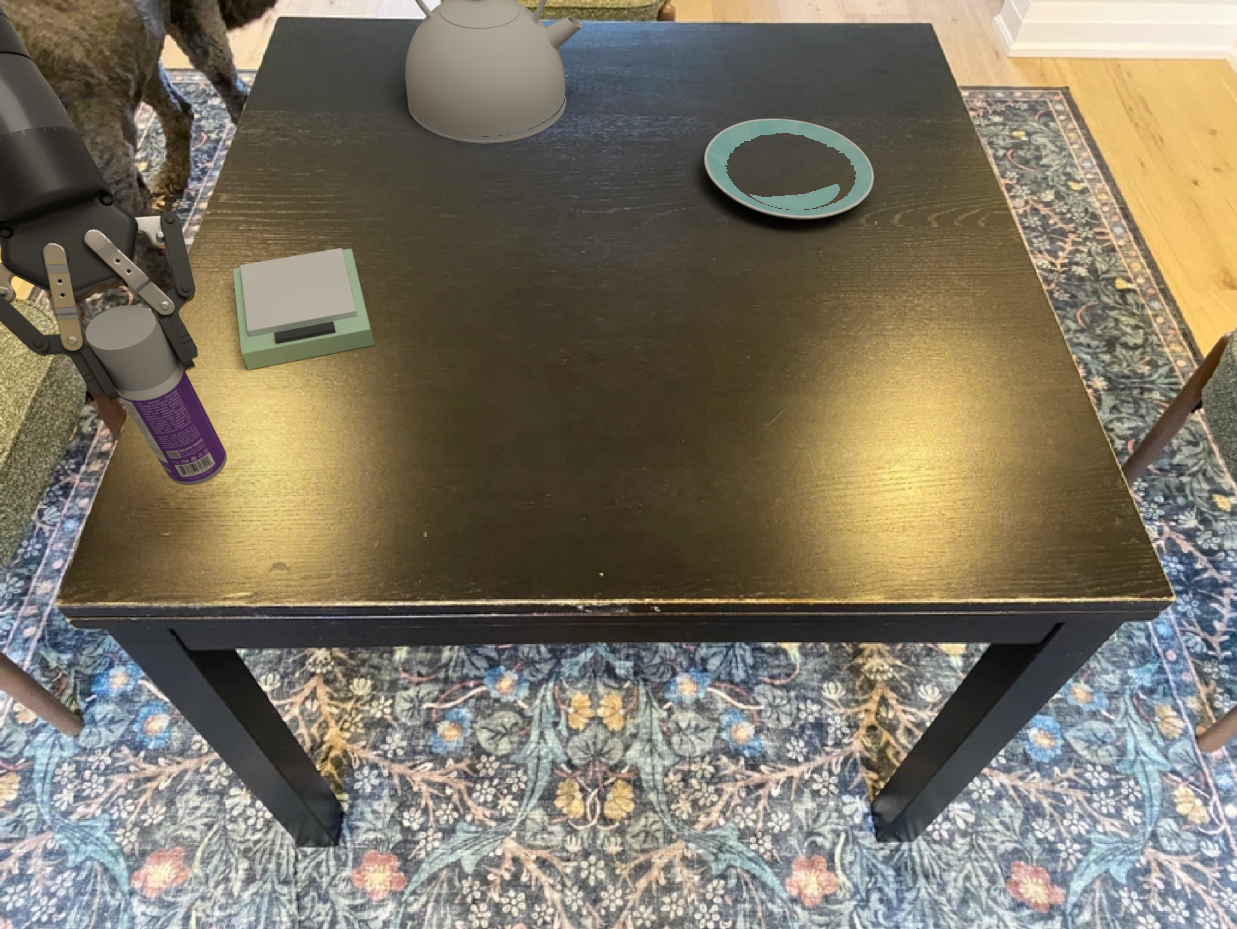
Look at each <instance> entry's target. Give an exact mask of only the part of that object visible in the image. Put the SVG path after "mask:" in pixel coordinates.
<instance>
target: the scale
mask: <svg viewBox="0 0 1237 929" xmlns="http://www.w3.org/2000/svg"><path fill="white" fill-rule="evenodd" d="M239 266H240V267H235V268H232V275H233V285H234V294H235V295H234V296H235V306H236V315H237V326H238V332H239V334H238V336H239V345H240V346H239V347H240V354H241V356H242V359H243V362H244V364H245V366H246V367H247V370H248V371H251V370H255V369H256V370H257V369H261V368H266V367H271V366H276V365H281V364H286V363H292V362H296V361H301V360H306V359H311V358H316V357H322V356H328V355H331V354H337V353H343V352H347V351H353V350H357V349H362V348H367V347H372V346H375V341H374V336H373V332H372V328H371V323H370V319H369V315H368V311H367V306H366V303H365V298H364V294H363V289H362V286H361V281H360V277H359V274H358V268H357V265H356V261H355V256H354V253H353V249H352V248H345V249H343V247H339V248H338V247H337V248H333V249H332V248H331V249H327V250H321V251H314V252H310V253H304V254H296V255H291V256H285V257H280V258H275V259H274V258H273V259H267V260H262V261H257V262H250V263H244V264H240V265H239Z"/></svg>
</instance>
